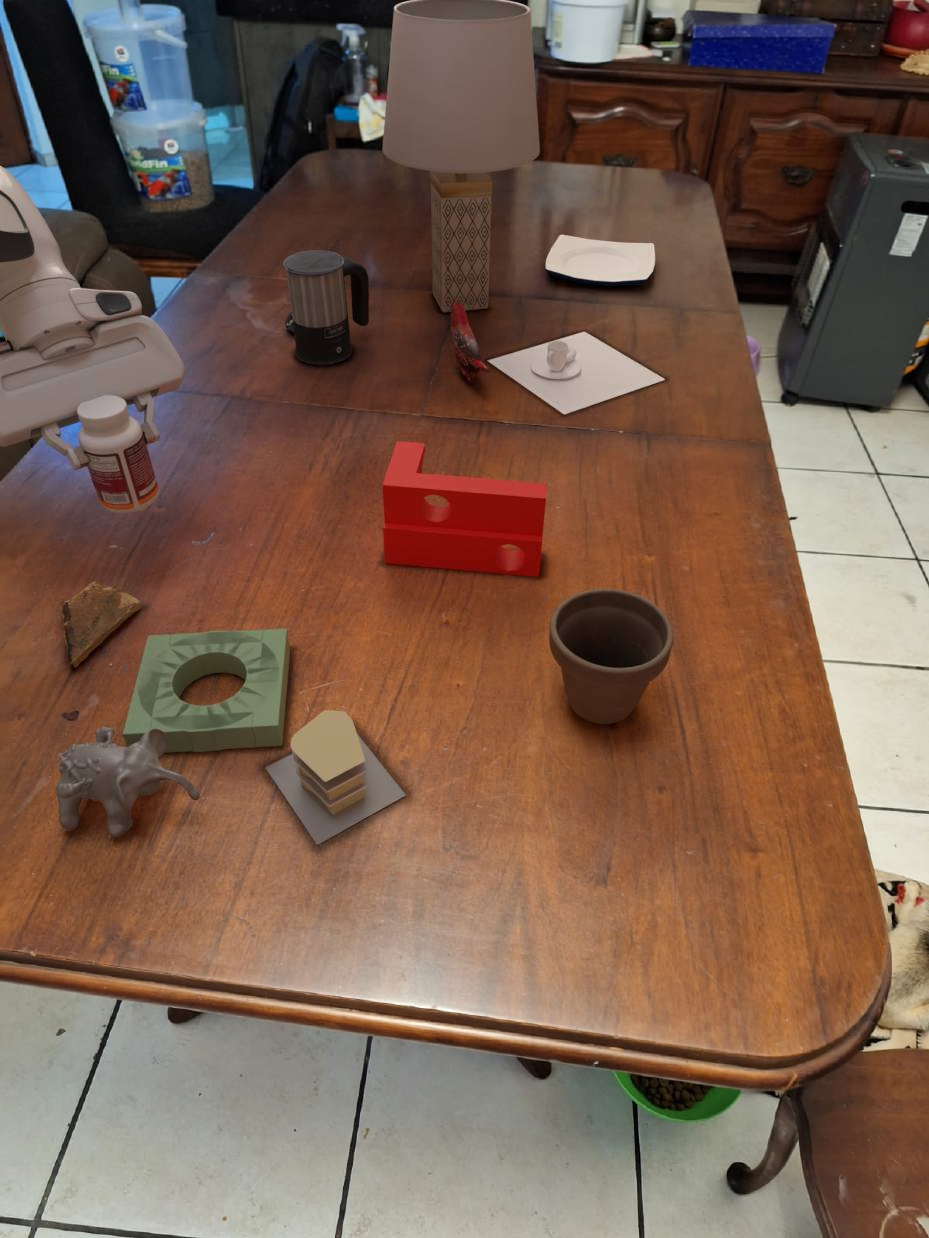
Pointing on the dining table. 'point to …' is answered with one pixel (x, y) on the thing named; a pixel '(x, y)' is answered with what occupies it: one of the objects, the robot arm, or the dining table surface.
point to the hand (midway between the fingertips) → (118, 453)
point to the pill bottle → (116, 455)
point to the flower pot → (608, 650)
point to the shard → (94, 618)
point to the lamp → (461, 123)
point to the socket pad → (221, 725)
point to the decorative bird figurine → (465, 342)
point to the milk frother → (324, 304)
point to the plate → (600, 261)
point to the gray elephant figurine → (113, 777)
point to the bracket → (460, 519)
